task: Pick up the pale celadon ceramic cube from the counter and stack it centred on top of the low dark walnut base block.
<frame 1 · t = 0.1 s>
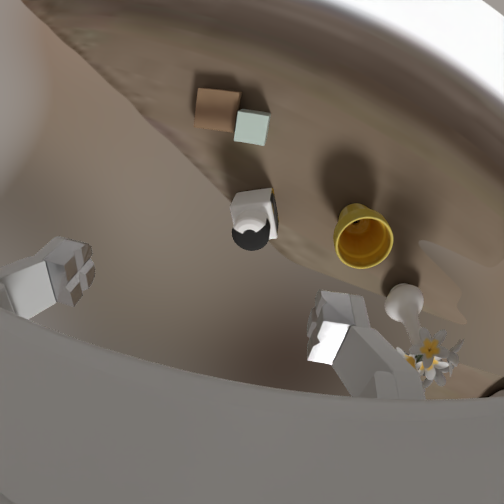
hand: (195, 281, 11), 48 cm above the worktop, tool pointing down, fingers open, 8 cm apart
cube: (254, 124, 53), on the worktop
plant pot: (355, 218, 60), on the worktop
medicine bottle: (257, 206, 61), on the worktop
flower vase: (399, 295, 68), on the worktop
base: (219, 108, 52), on the worktop
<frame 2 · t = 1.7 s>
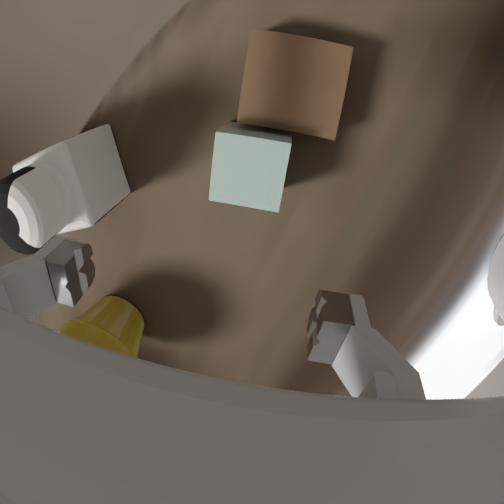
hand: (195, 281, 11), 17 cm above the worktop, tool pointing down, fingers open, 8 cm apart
cube: (256, 155, 25), on the worktop
plant pot: (121, 314, 37), on the worktop
medicine bottle: (93, 166, 27), on the worktop
base: (294, 82, 22), on the worktop
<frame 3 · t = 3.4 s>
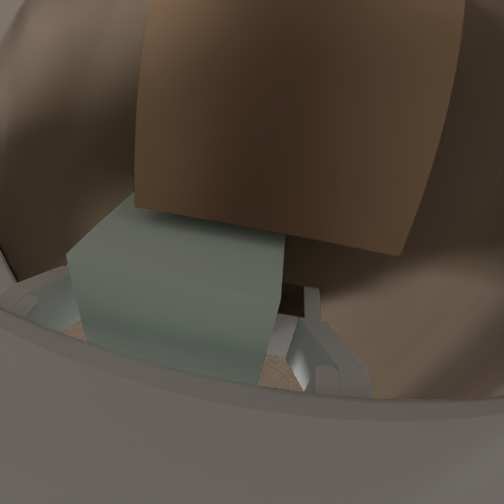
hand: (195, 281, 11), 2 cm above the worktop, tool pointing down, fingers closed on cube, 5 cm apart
cube: (208, 253, 12), on the worktop, touching gripper
base: (294, 84, 8), on the worktop
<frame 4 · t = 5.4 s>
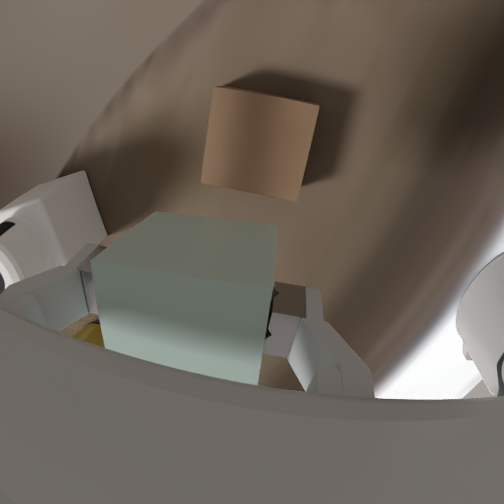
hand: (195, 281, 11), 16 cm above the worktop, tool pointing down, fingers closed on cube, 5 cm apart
cube: (211, 274, 13), point 13 cm above the worktop, tilted 9°, touching gripper
plant pot: (104, 340, 38), on the worktop
medicine bottle: (72, 208, 28), on the worktop
base: (260, 136, 23), on the worktop
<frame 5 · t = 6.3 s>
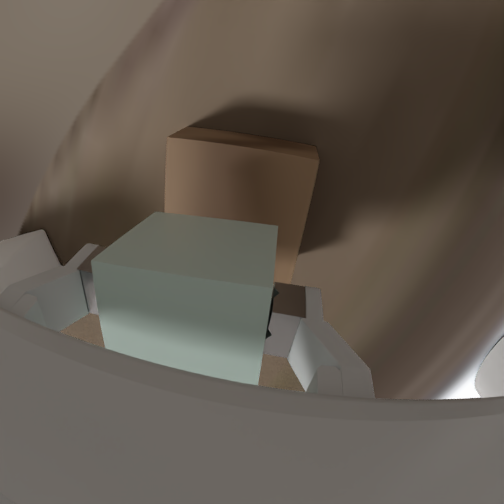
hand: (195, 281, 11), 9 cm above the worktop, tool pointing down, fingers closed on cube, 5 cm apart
cube: (211, 274, 13), point 6 cm above the worktop, tilted 9°, touching gripper
medicine bottle: (39, 266, 24), on the worktop
base: (242, 194, 18), on the worktop
when the fingers open (6 cm above the worktop, at t = 7.2 s): cube stays where it is, resting on base.
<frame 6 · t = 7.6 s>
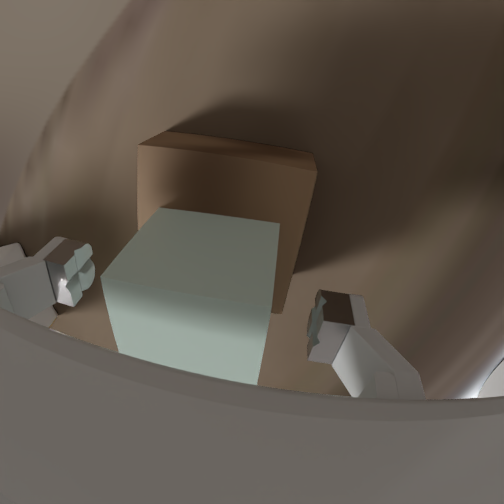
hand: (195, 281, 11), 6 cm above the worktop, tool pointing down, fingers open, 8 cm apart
cube: (215, 266, 14), point 3 cm above the worktop, touching base
medicine bottle: (17, 281, 21), on the worktop
base: (227, 208, 16), on the worktop
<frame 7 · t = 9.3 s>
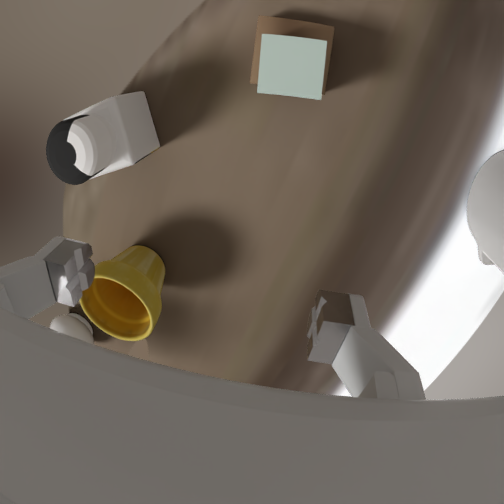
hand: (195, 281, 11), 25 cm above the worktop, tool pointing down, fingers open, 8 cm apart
cube: (291, 68, 26), point 3 cm above the worktop, touching base
plant pot: (143, 265, 43), on the worktop
medicine bottle: (127, 127, 33), on the worktop
flower vase: (77, 323, 52), on the worktop
base: (291, 55, 27), on the worktop
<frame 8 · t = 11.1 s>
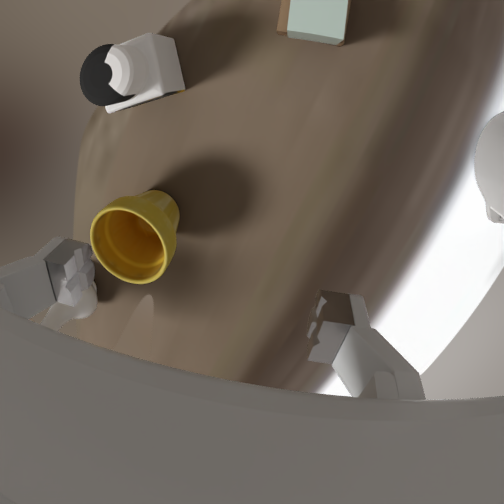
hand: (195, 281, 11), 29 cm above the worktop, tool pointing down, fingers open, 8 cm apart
cube: (314, 19, 25), point 3 cm above the worktop, touching base
plant pot: (157, 211, 43), on the worktop
medicine bottle: (154, 72, 33), on the worktop
flower vase: (80, 281, 52), on the worktop
base: (313, 13, 27), on the worktop
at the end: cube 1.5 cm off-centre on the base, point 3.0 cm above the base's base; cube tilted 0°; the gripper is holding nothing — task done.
